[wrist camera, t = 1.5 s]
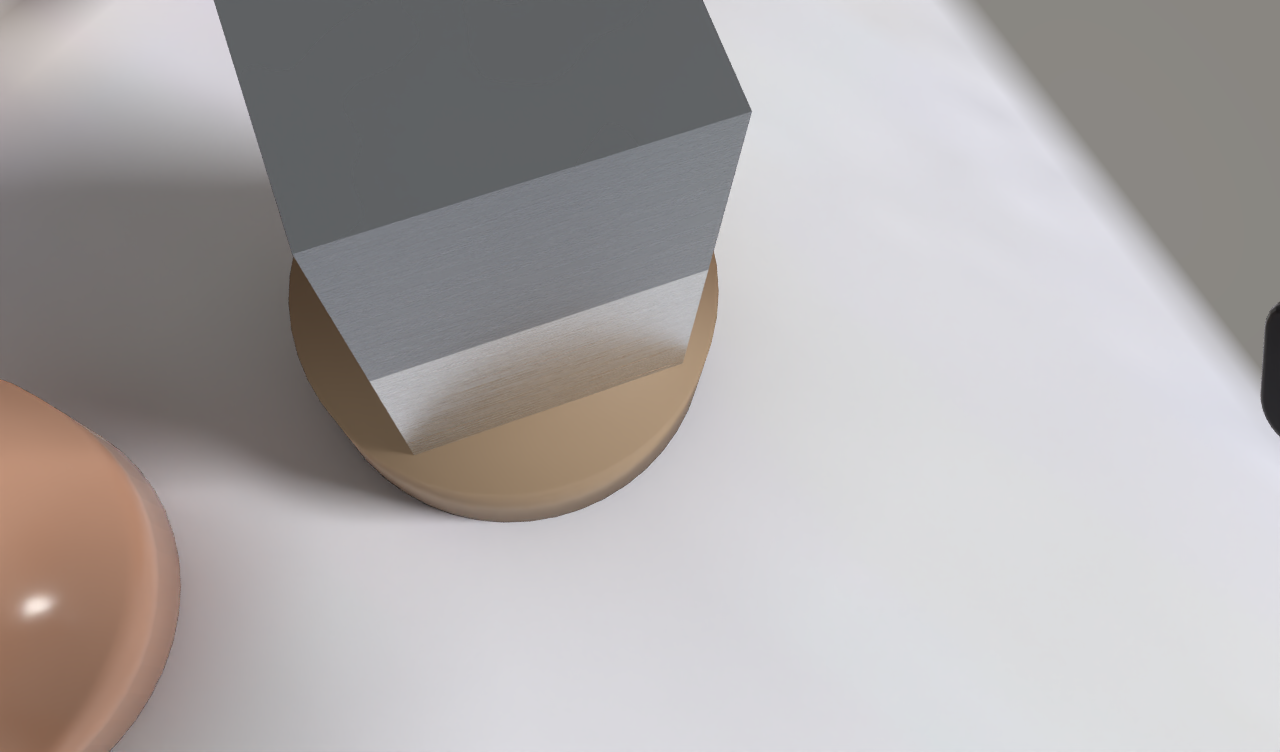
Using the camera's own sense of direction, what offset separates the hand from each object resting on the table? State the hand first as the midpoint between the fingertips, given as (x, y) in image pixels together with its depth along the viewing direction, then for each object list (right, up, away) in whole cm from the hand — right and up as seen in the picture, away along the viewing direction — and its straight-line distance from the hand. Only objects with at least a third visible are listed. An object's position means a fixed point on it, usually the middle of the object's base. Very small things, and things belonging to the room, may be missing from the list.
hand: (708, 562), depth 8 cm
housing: (-3, +3, +11) cm, 12 cm away
